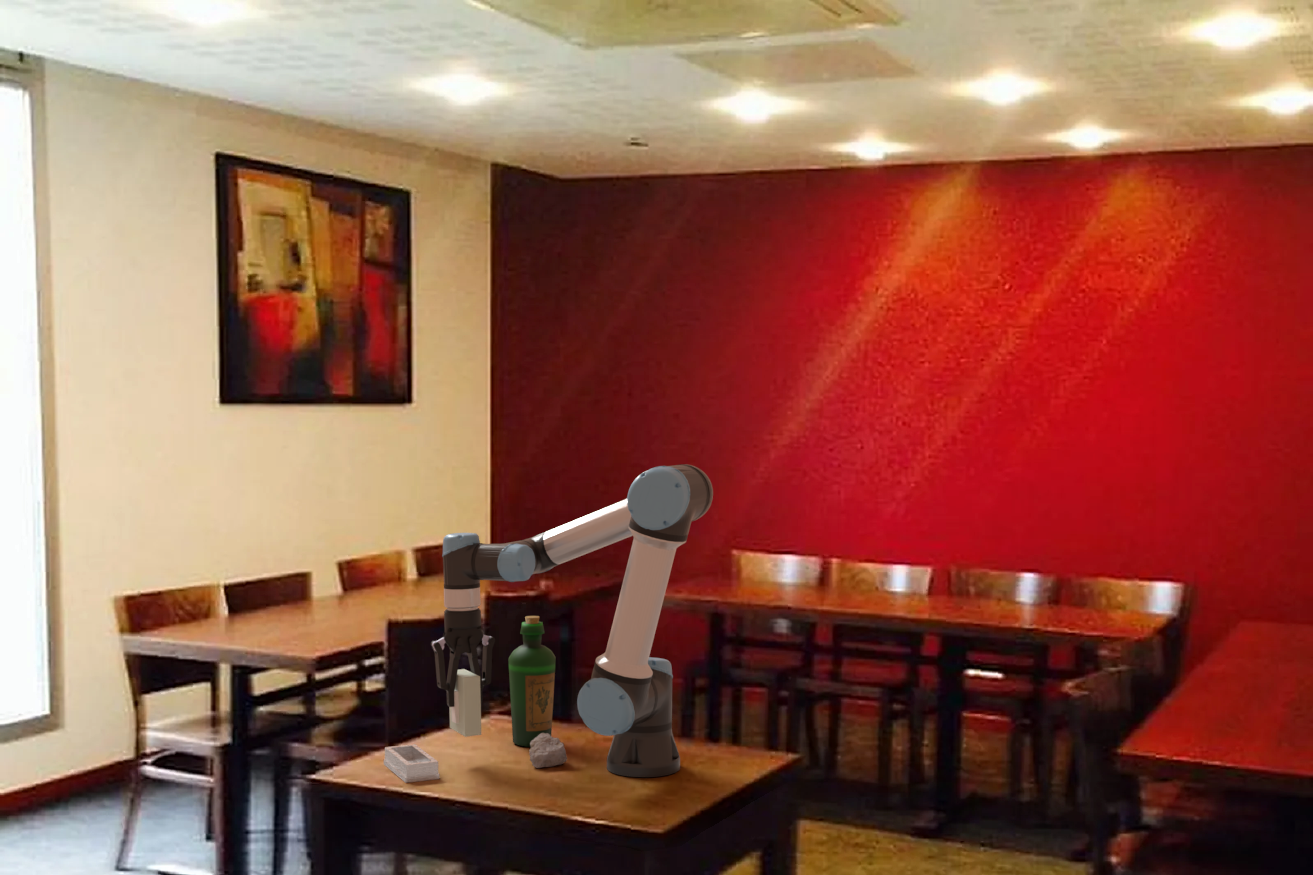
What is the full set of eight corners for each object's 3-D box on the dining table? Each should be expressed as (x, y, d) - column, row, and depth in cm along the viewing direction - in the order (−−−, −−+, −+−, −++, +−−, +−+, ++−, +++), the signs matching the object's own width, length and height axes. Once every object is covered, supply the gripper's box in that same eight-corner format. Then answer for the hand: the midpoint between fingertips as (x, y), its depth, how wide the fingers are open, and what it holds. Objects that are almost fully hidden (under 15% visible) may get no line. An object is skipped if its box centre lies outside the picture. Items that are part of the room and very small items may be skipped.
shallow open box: (439, 778, 297) (439, 761, 297) (405, 782, 294) (405, 765, 294) (416, 760, 312) (416, 744, 312) (383, 764, 309) (383, 747, 309)
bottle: (548, 750, 321) (549, 621, 320) (501, 747, 323) (501, 619, 322) (561, 739, 332) (562, 614, 331) (515, 736, 334) (516, 612, 333)
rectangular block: (481, 734, 304) (480, 676, 303) (465, 736, 302) (463, 678, 302) (465, 725, 313) (464, 669, 312) (449, 727, 311) (448, 670, 311)
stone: (518, 760, 313) (518, 732, 313) (555, 756, 316) (555, 729, 316) (532, 771, 304) (533, 743, 304) (570, 767, 307) (570, 739, 307)
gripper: (494, 602, 314) (497, 713, 314) (418, 609, 307) (421, 722, 307) (506, 606, 307) (509, 719, 308) (429, 613, 300) (431, 728, 300)
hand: (465, 720), depth 307 cm, fingers closed on rectangular block, 3 cm apart
